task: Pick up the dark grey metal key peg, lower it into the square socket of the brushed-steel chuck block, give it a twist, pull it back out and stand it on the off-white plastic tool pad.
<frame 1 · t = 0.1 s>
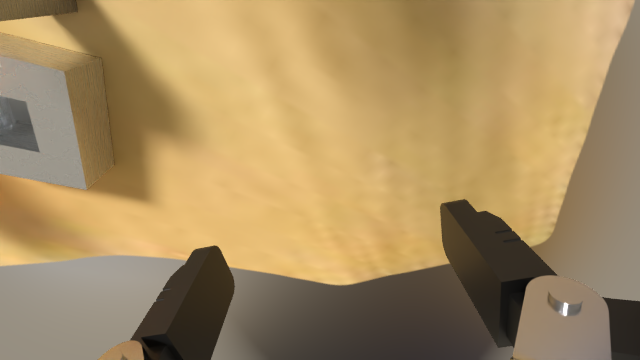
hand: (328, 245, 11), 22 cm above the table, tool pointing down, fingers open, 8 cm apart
chuck block: (44, 102, 30), on the table
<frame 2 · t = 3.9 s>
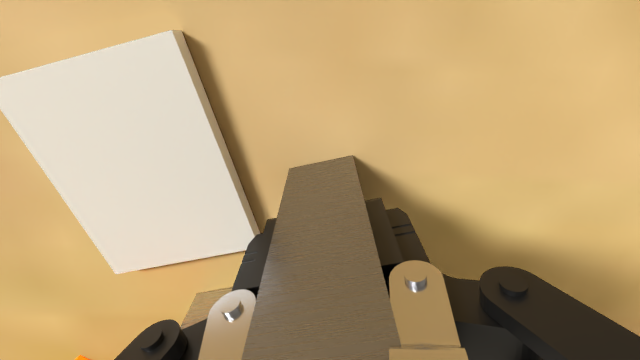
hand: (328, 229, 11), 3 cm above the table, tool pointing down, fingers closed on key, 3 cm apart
tool pad: (147, 168, 14), on the table
key: (327, 190, 14), on the table, touching gripper
chuck block: (319, 345, 19), on the table
when the fingers open (5 cm above the table, at t = 16.1 s): key stays where it is, resting on tool pad.
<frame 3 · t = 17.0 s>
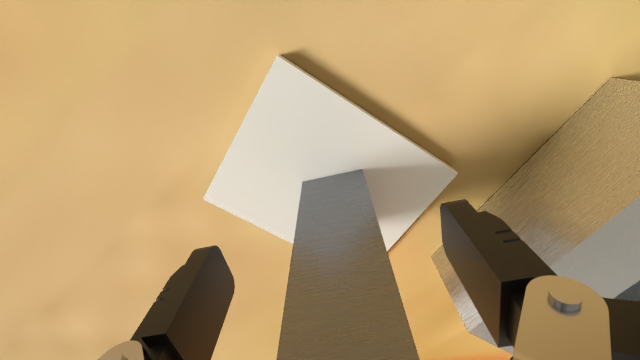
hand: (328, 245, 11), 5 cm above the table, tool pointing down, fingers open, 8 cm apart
tool pad: (327, 179, 15), on the table
key: (338, 201, 15), point 1 cm above the table, touching tool pad
chuck block: (583, 231, 17), on the table
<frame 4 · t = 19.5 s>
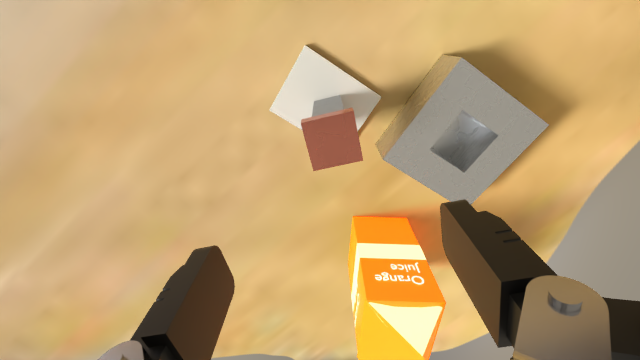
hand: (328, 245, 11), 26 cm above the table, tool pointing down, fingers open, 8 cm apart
tool pad: (324, 102, 34), on the table
key: (329, 111, 34), point 1 cm above the table, touching tool pad
chuck block: (445, 129, 35), on the table
orange juice: (375, 241, 43), on the table
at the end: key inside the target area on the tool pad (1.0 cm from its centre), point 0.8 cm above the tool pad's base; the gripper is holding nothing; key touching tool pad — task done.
